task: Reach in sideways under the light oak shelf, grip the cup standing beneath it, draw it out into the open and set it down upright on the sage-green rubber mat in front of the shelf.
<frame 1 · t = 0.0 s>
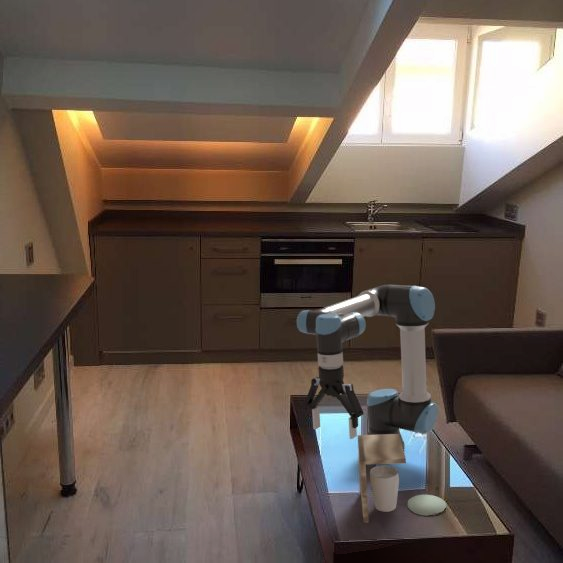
hand: (334, 432, 190), 28 cm above the table, tool pointing down, fingers open, 13 cm apart
cup: (385, 507, 198), on the table
shelf: (385, 506, 198), on the table
mat: (426, 505, 197), on the table
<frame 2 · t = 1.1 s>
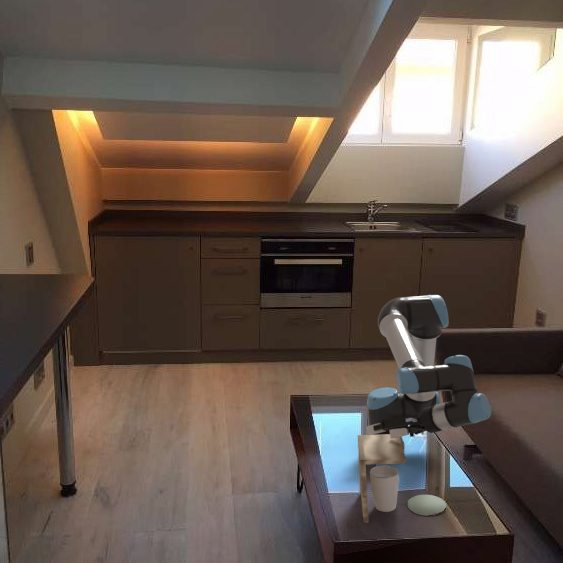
hand: (379, 432, 196), 24 cm above the table, tool tilted 65°, fingers open, 12 cm apart
nothing on the table moved.
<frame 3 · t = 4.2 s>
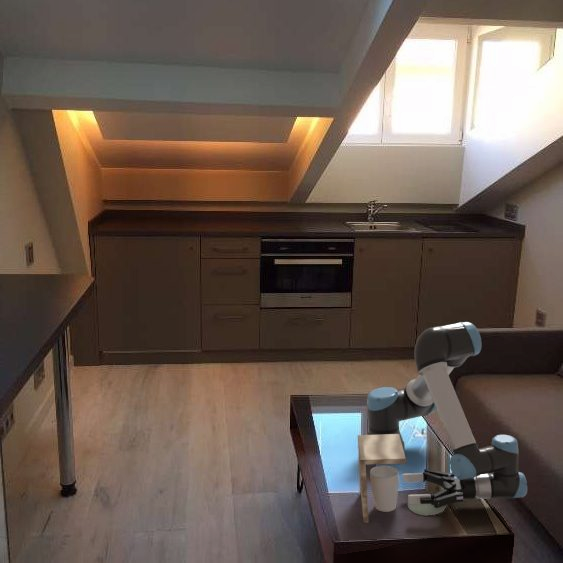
hand: (405, 488, 196), 6 cm above the table, tool horizontal, fingers open, 13 cm apart
nothing on the table moved.
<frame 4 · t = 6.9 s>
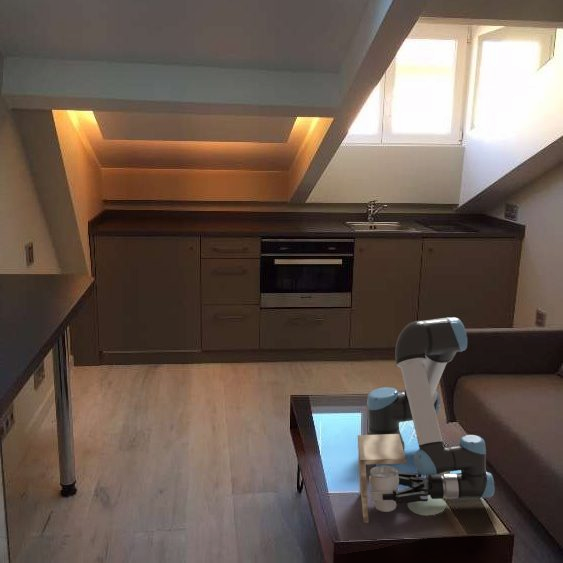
hand: (370, 488, 198), 7 cm above the table, tool horizontal, fingers closed on cup, 9 cm apart
cup: (385, 507, 198), on the table, touching gripper
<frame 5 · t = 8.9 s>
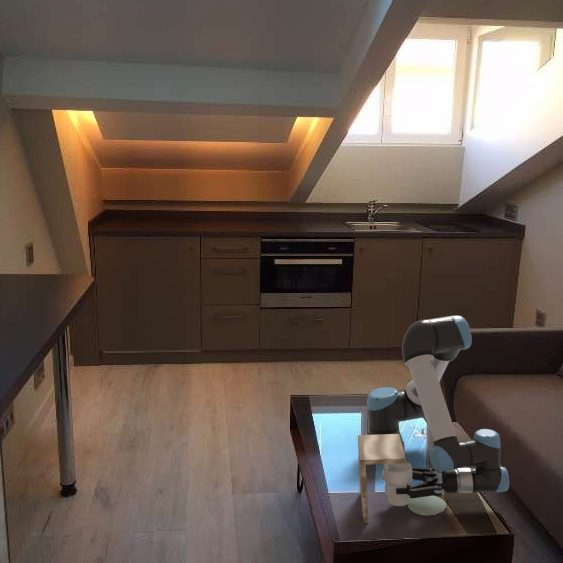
hand: (383, 482, 197), 9 cm above the table, tool horizontal, fingers closed on cup, 9 cm apart
cup: (399, 501, 197), point 2 cm above the table, touching gripper
when the fingers open (8 cm above the table, at t = 11.2 s): cup stays where it is, resting on mat.
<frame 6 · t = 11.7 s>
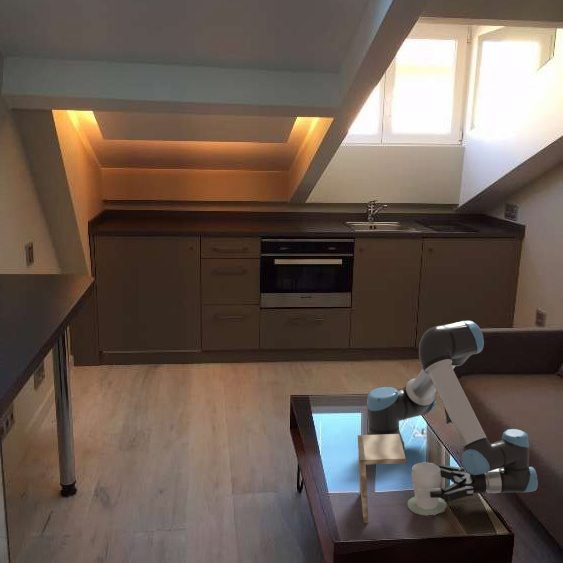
hand: (415, 482, 196), 8 cm above the table, tool horizontal, fingers open, 13 cm apart
cup: (427, 504, 197), resting on mat
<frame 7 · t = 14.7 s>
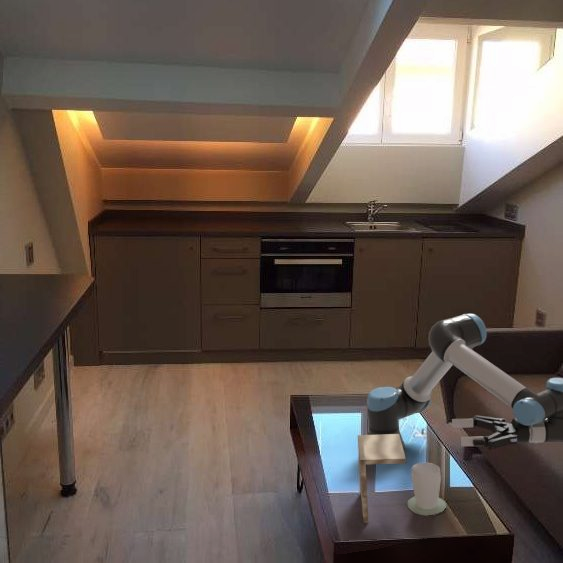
hand: (456, 432, 192), 24 cm above the table, tool horizontal, fingers open, 13 cm apart
nothing on the table moved.
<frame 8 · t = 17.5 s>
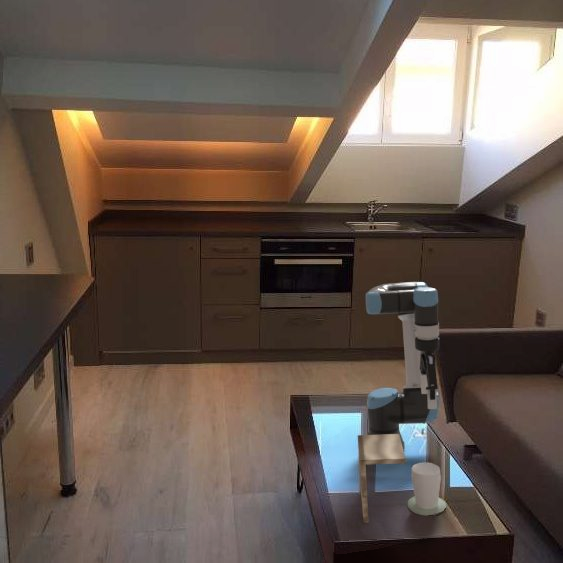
hand: (428, 400, 200), 32 cm above the table, tool pointing down, fingers open, 13 cm apart
nothing on the table moved.
at the end: cup 0.0 cm from the mat (horizontally); cup tilted 0°; the gripper is holding nothing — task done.
